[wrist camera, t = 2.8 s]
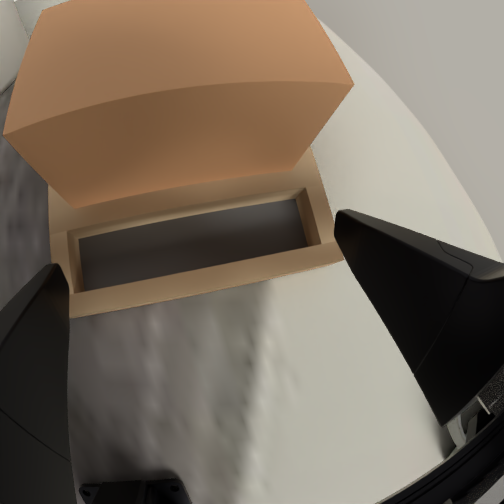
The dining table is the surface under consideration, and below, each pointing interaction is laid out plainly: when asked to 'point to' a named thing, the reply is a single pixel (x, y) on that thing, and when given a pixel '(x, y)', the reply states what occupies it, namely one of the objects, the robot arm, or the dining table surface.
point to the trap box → (192, 238)
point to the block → (170, 93)
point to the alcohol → (10, 43)
